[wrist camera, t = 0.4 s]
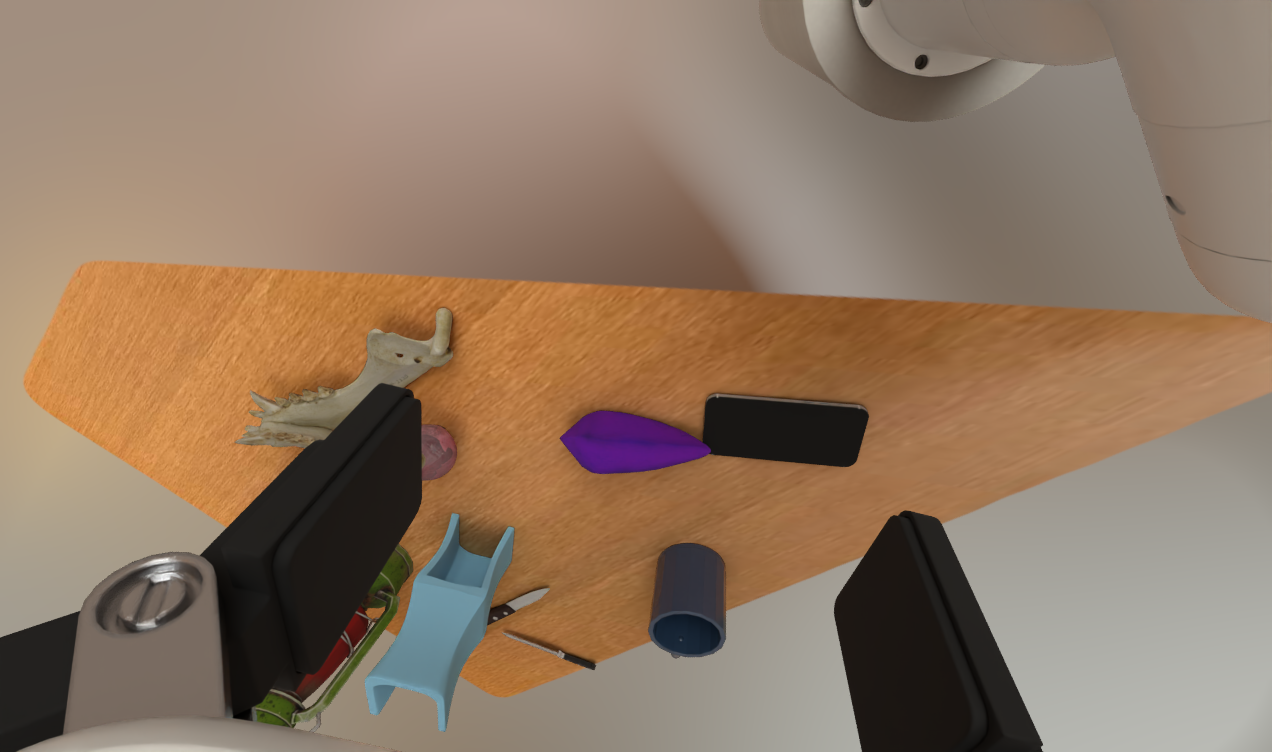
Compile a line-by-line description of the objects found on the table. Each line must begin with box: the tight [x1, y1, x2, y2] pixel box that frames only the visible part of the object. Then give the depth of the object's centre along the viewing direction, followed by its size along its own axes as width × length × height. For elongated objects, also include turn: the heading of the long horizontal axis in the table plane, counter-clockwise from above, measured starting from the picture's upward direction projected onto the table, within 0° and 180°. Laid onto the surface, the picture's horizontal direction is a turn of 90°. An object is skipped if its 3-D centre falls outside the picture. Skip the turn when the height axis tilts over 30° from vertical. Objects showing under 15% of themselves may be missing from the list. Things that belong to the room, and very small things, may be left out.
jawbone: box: [235, 308, 453, 468], centre depth 54 cm, size 25×18×10 cm
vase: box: [365, 513, 514, 732], centre depth 61 cm, size 8×8×20 cm
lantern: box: [256, 544, 413, 733], centre depth 62 cm, size 14×11×30 cm
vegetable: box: [422, 424, 457, 480], centre depth 56 cm, size 6×6×10 cm
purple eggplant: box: [560, 411, 711, 474], centre depth 55 cm, size 5×5×15 cm
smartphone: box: [703, 394, 869, 467], centre depth 54 cm, size 7×1×15 cm
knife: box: [501, 632, 596, 670], centre depth 80 cm, size 15×1×2 cm
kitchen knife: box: [487, 588, 550, 625], centre depth 76 cm, size 18×1×2 cm
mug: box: [648, 543, 726, 658], centre depth 64 cm, size 11×8×9 cm
